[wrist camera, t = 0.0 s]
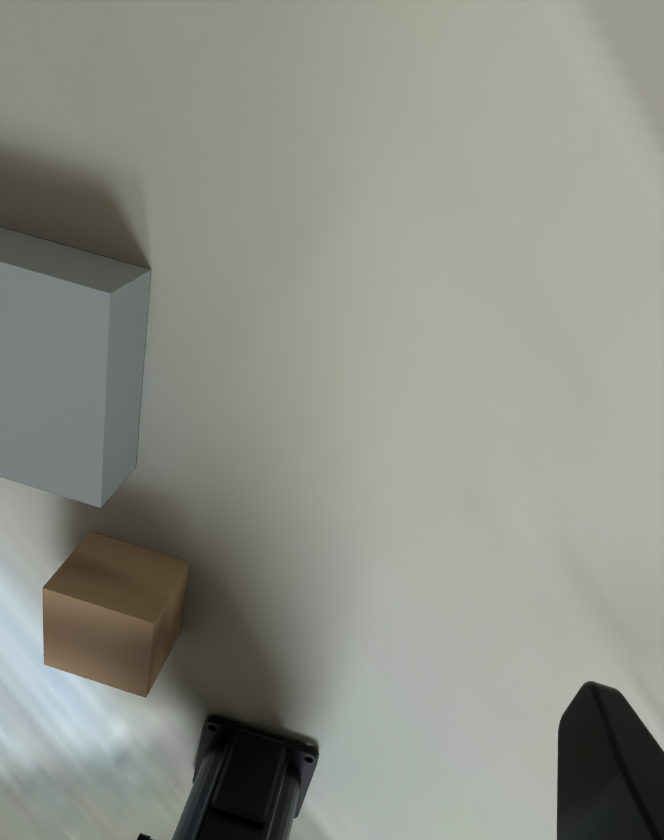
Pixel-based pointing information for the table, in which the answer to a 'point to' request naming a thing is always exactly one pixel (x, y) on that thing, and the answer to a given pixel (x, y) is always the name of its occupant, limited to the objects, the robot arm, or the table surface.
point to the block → (114, 612)
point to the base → (69, 367)
